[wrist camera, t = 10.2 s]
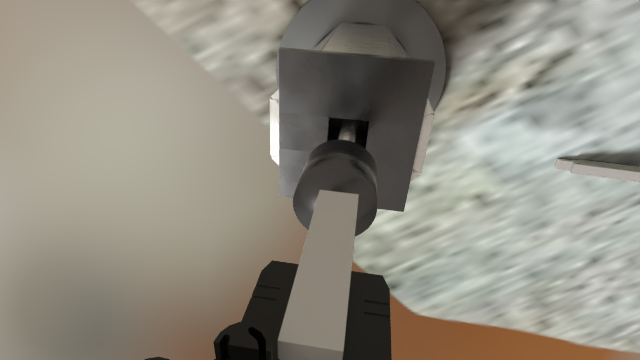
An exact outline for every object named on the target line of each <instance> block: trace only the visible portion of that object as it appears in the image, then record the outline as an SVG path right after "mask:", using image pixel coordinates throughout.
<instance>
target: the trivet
mask: <svg viewBox="0 0 640 360" xmlns="http://www.w3.org/2000/svg"><path fill="white" fill-rule="evenodd" d="M342 22H347V23H354V22H367V23H373V24H376V25H385V26H386V27H388V28H389V29H390V30H391V32H392V33H393V34H394V35H395V36H396V37H397V38H398V39H399V40H400V42H401V43H402V44H403V46H404V48H405V49H406V52H407V53H408V55H409V56H410V57H411V58H413V59H425V60H434V62H435V66H434V71H433V75H432V80H431V85H430V90H429V94H428V99H429V102H430V104H431V107H432V109H433V111H434V109H435V108H436V106H437V104H438V102H439V99H440V97H441V94H442V91H443V87H444V83H445V76H446V56H445V49H444V45H443V41H442V38H441V36H440V33H439V31H438V28H437V26H436V25H435V23H434V21H433V20H432V18H431V17H430V15H429V14H428V13H427V12H426V10H425V9H424V8H423V7H422V6H421V5H420V4H419V3H418V2H416V1H415V0H310V1H309V2H308V3H307V4H306V5H304V6H303V7H302V8H301V9H300V11H299V12H298V13H297V14H296V15H295V16H294V18H293V19H292V21H291V22H290V24H289V25H288V27H287V29H286V31H285V33H284V35H283V37H282V40H281V44H280V47H279V49H280V48H281V47H284V48H296V49H308V50H312V49H313V48H314V47H315V46H316V45H317V44H318V43H319V42H320V41H321V40H322V38H323V37H324V36H325V35H327V34H328V33H329V32H330V31H332V30H334V29H335V28H336V27H337V26H338V25H339V24H340V23H341V24H342ZM276 74H277V84H278V88H279V51H278V56H277V66H276Z"/></svg>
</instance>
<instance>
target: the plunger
mask: <svg viewBox="0 0 640 360" xmlns="http://www.w3.org/2000/svg"><path fill="white" fill-rule="evenodd" d="M329 126H330V127H332V128H334V129H336V130H338V131H340V134H339V139H338V140H331V141H327V142H324V143H322V144H320V145H319V146H317V147H316V148H315V149H314V150H313V151H312V152H311V153H310V155H309V156H308V159H307V161H306V164H305V166H304V169H303V172H302V174H301V177H300V179H299V182H298V185H297V187H296V190H295V193H294V197H293V207H294V211H295V214H296V216H297V218H298V219H299V221H300V222H301V223H302V224H303V226H305V227H306V228H307V229H308V230H309V226H310V223H311V219H312V215H313V212H314V208H315V205H316V201H317V198H318V194H319V190H327V191H335V192H343V193H351V194H359V197H358V207H357V218H356V228H355V236H357V235H359V234H361V233H363V232H364V231H365V230H366V229H368V228H369V226H370V225H371V224H372V222H373V221H374V219H375V216H376V212H377V167H376V163H375V161H374V159H373V157H372V155H371V154H370V153H369V152H368V151H367V150H366V149H365V148H364V147H362V146H361V145H359V144H357V143H355V138H356V134H364V133H368V127H369V121H361V120H351V119H341V118H331V117H330V120H329Z"/></svg>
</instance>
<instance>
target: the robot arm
mask: <svg viewBox="0 0 640 360" xmlns="http://www.w3.org/2000/svg"><path fill="white" fill-rule="evenodd" d="M358 197H359V194H351V193H343V192H335V191H327V190H319V194H318V198H317V201H316V205H315V208H314V212H313V215H312V219H311V223H310V226H309V230H308V233H307V237H306V241H305V244H304V248H303V252H302V255H301V259H300V262H299V264H292V263H286V262H279V261H271V262H270V263H269V264H268V265H267V266H266V267H265V268H264V269H263V270H262V272H261V274H260V276H259V279H258V282H257V284H256V287H255V289H254V291H253V294H252V298H251V299H250V301H249V304H248V307H247V309H246V311H245V314H244V317H243V319H242V322H239V323H236V324H233V325H230V326H228V327H227V328H226V329H224V330H223V331H221V332H220V334H219V335H218V336H217V338H216V339H215V341H214V348H215V355H216V359H215V360H391V327H390V291H389V287H388V285H387V284H386V282H385V280H384V278H383V276H382V275H375V274H368V273H361V272H353V271H351V269H352V259H353V248H354V238H355V228H356V218H357V207H358ZM145 360H169V359H165V358H161V357H155V358H149V359H145Z"/></svg>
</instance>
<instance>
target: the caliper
mask: <svg viewBox="0 0 640 360" xmlns="http://www.w3.org/2000/svg"><path fill="white" fill-rule="evenodd" d="M554 168H557V169H562V170H569V171H570V172H571V173H576V174H583V175H591V176H598V177H605V178H613V179H620V180H627V181H635V182H640V167H638V166H630V165H622V164H614V163H607V162H599V161H591V160H575V159H572V160H567V159H557V161H556V164H555V166H554Z"/></svg>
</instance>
